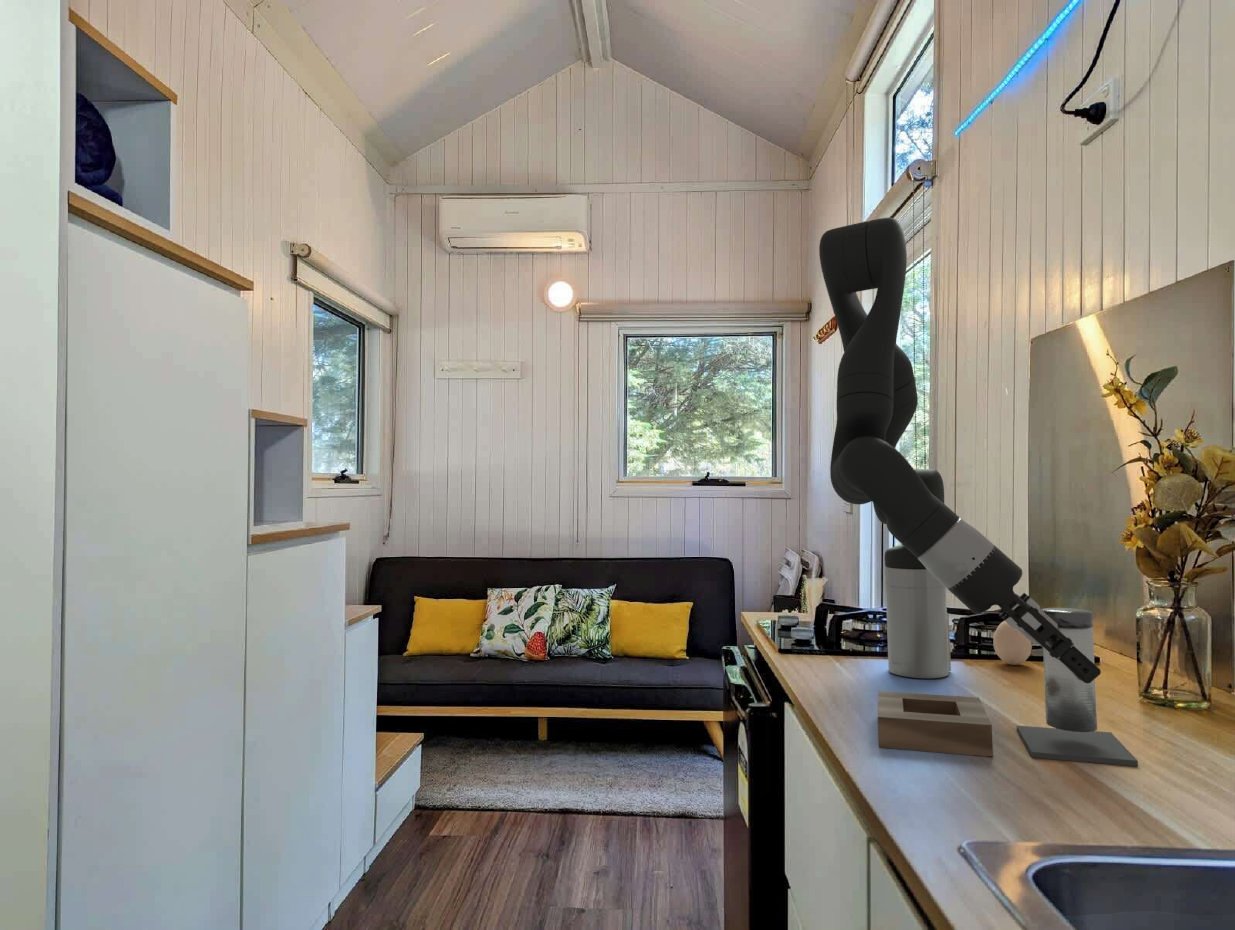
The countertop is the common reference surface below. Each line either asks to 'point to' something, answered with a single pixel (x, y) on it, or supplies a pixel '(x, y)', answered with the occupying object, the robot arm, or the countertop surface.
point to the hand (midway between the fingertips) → (1087, 671)
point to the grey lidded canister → (1070, 674)
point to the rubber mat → (1075, 746)
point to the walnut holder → (934, 723)
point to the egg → (1011, 644)
